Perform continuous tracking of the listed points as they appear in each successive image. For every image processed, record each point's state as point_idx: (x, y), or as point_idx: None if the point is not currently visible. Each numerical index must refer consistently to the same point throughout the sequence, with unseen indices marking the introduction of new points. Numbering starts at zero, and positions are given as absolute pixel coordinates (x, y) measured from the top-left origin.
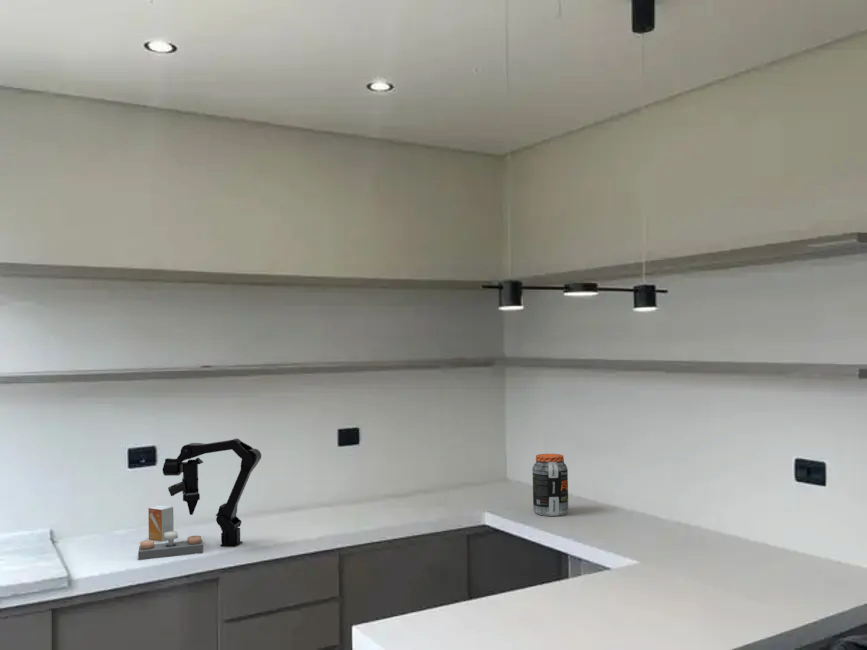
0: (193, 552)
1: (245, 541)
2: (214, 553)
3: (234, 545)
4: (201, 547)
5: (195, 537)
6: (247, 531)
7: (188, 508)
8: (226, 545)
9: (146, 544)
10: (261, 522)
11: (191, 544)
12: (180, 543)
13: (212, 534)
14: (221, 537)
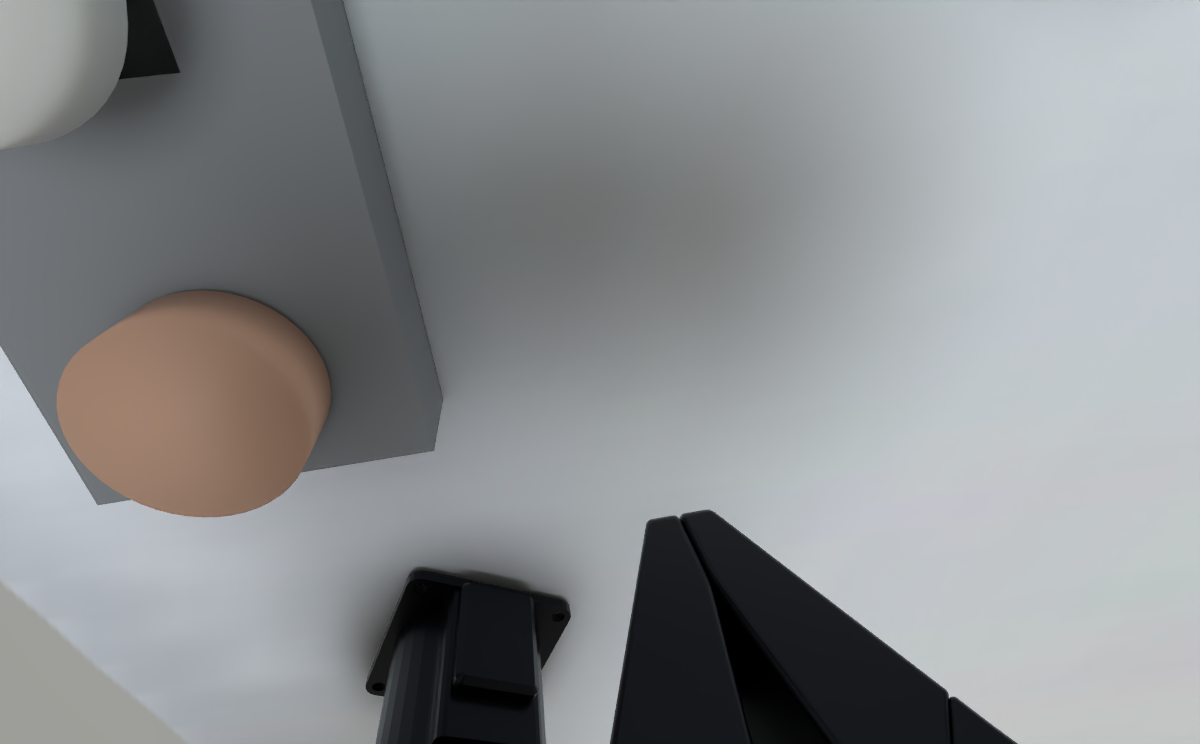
0: None
1: (556, 712)
2: (122, 554)
3: (366, 686)
4: None
5: (163, 449)
6: None
7: (616, 707)
8: (389, 626)
9: None
10: (1118, 712)
11: None
12: (203, 167)
13: (970, 428)
14: (456, 638)
